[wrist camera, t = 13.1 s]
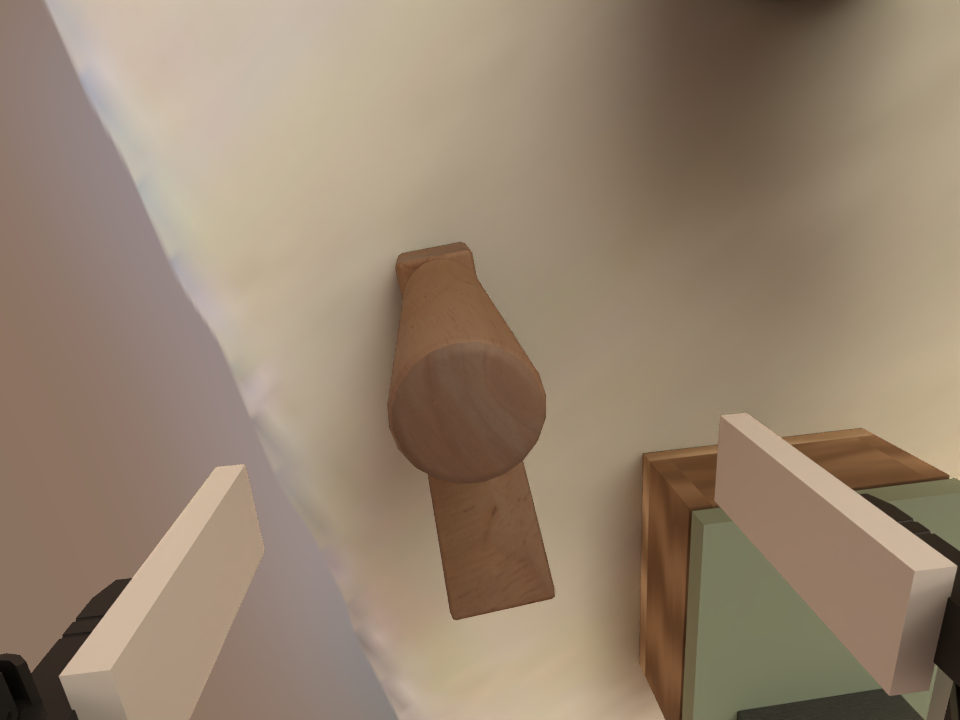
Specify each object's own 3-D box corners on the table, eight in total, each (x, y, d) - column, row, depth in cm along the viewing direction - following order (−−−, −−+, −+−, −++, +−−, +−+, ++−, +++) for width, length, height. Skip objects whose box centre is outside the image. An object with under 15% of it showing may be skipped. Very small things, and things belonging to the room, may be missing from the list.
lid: (692, 511, 27) (738, 565, 23) (954, 478, 29) (1041, 525, 25) (680, 751, 32) (717, 830, 28) (905, 715, 33) (971, 787, 29)
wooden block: (438, 440, 32) (460, 731, 15) (396, 253, 29) (361, 349, 11) (501, 427, 32) (594, 700, 15) (466, 240, 29) (536, 314, 12)
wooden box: (643, 453, 33) (689, 507, 28) (861, 428, 35) (949, 475, 29) (639, 663, 38) (678, 746, 33) (831, 635, 39) (901, 710, 34)
